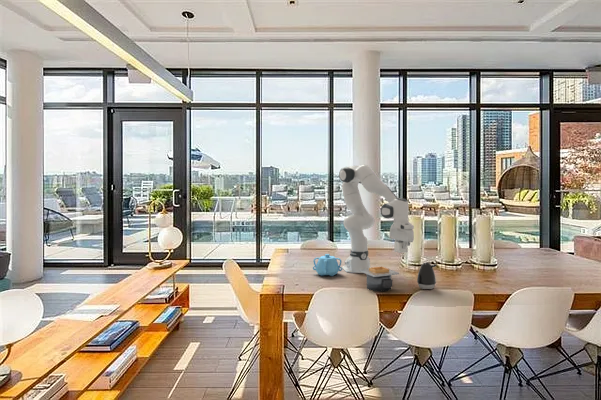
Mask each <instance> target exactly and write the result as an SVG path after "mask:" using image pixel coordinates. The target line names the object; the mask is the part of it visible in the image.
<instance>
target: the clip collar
mask: <svg viewBox="0 0 601 400" xmlns="http://www.w3.org/2000/svg"><path fill="white" fill-rule="evenodd" d="M380 269H382V270H380ZM389 269H390V268H387V267H384V266H373V267H370V268H369V271H372V272H374V273H382V272H389Z"/></svg>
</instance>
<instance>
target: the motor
mask: <svg viewBox="0 0 601 400" xmlns="http://www.w3.org/2000/svg"><path fill="white" fill-rule="evenodd" d="M388 269H389V272H382V273H374V272H372V271H369V269H361V270H360V272H363V273H362V274H365V275H366V290H368V289H369V290H368V291H371V290H373V291H372V292H389V291H391V290H392V288H393V279H392V276H395V275H396V276H397V275H399V274H400V273H399V271H395V270H393V269H390V268H388ZM380 270H382V269H380Z"/></svg>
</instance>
